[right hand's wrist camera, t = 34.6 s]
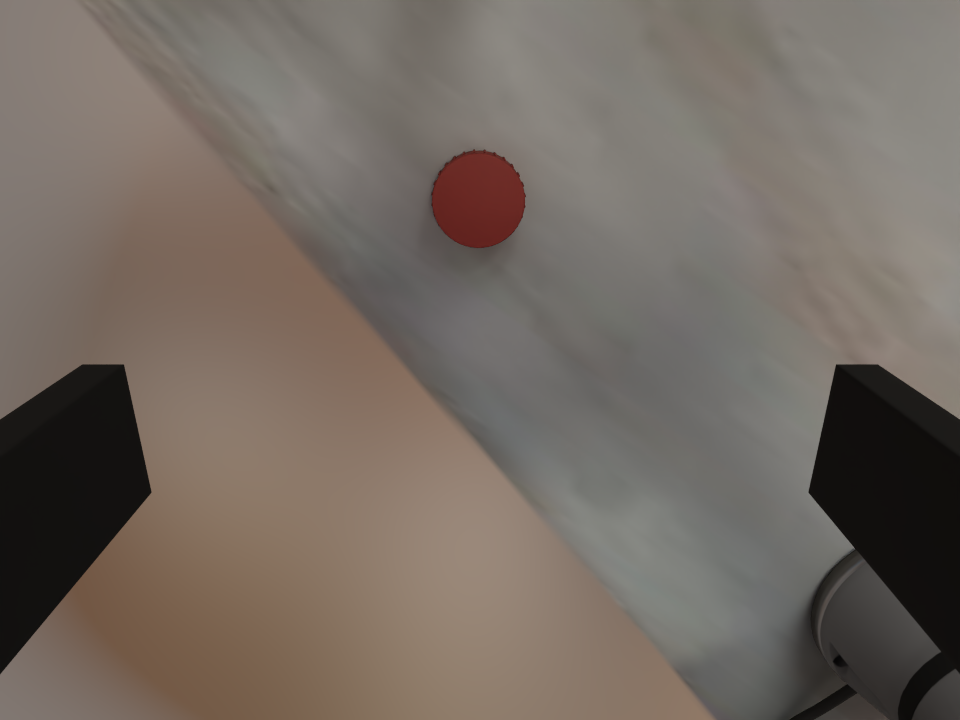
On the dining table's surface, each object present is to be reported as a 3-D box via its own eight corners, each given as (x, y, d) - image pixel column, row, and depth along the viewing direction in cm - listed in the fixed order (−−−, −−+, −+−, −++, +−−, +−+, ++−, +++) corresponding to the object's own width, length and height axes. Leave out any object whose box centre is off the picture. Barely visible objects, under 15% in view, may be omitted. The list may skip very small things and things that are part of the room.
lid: (472, 129, 39) (472, 130, 37) (542, 190, 40) (545, 195, 38) (415, 202, 40) (411, 208, 38) (484, 259, 41) (484, 267, 39)
